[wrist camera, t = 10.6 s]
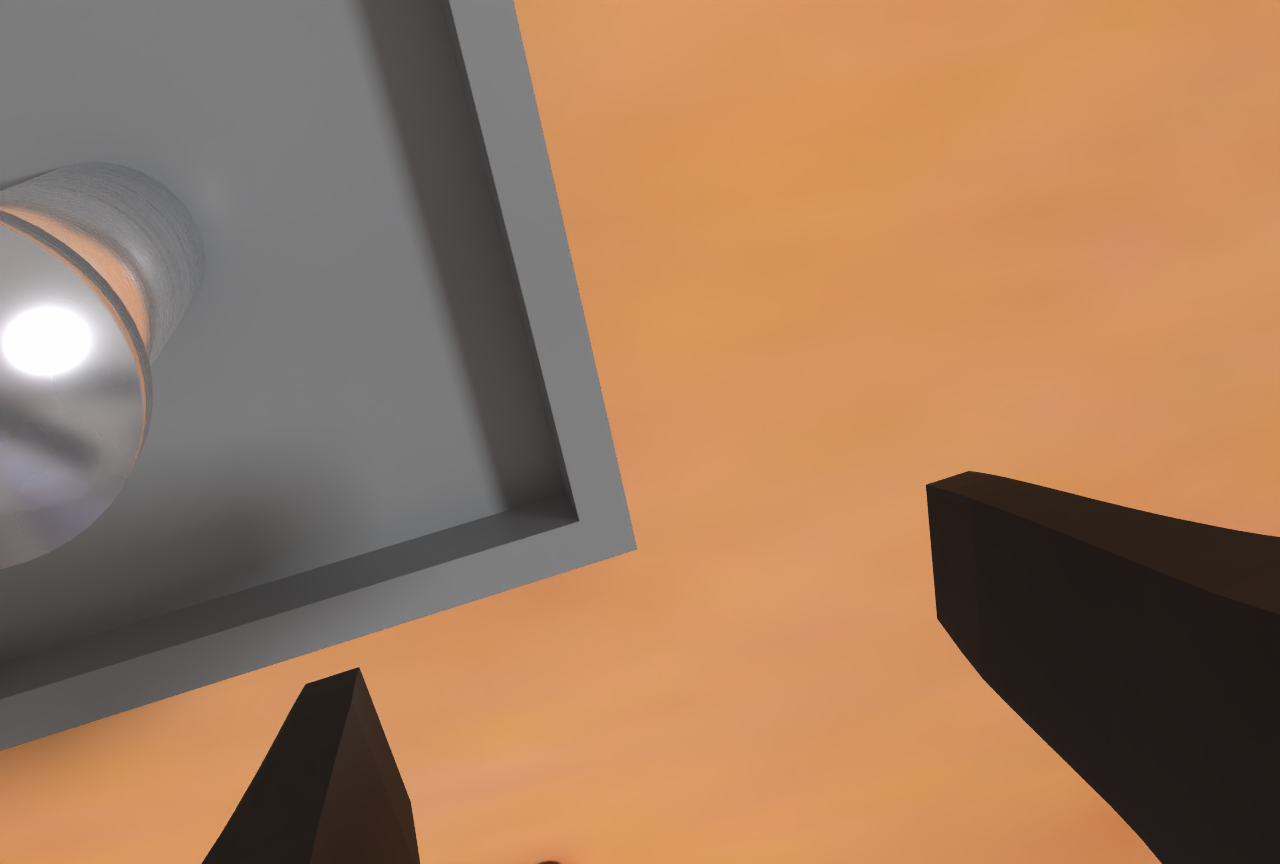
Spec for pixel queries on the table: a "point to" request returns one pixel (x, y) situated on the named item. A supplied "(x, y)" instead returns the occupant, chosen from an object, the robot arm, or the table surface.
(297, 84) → the tray
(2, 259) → the pin
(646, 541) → the table surface
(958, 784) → the table surface
